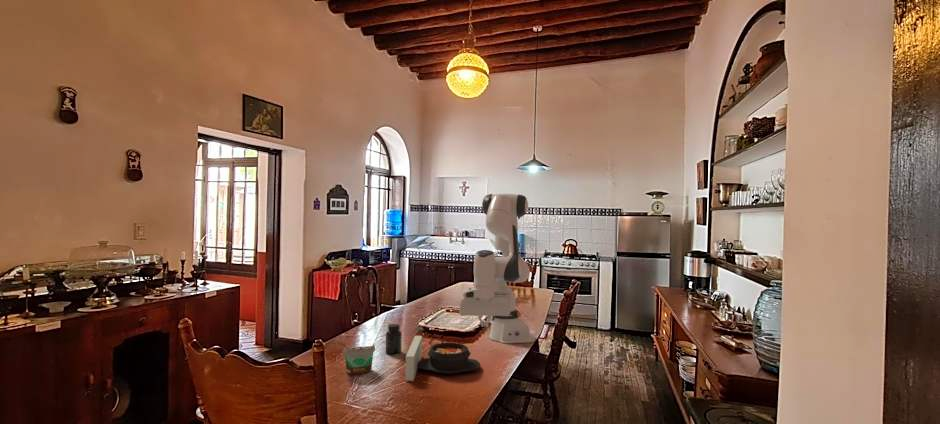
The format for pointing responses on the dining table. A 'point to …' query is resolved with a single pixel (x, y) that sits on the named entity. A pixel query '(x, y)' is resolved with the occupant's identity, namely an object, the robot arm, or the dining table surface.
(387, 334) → the supplement bottle
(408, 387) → the dining table surface
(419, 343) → the board
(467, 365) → the casserole
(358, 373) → the food container
